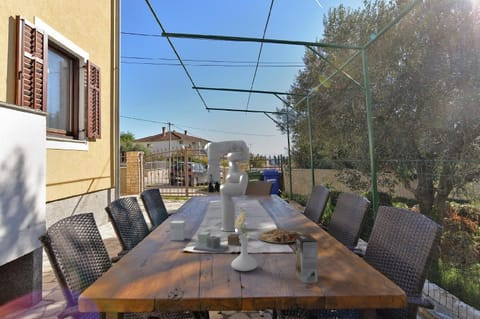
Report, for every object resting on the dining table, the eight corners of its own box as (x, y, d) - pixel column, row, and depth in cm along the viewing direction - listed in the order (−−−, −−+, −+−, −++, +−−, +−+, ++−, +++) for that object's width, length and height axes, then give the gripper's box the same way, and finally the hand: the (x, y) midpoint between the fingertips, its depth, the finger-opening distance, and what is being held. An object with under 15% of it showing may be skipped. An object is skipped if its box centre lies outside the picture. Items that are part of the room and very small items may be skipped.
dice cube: (206, 247, 148) (206, 237, 148) (214, 244, 152) (213, 235, 152) (213, 248, 145) (213, 239, 145) (220, 246, 149) (220, 237, 149)
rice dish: (250, 243, 163) (250, 234, 163) (268, 230, 187) (268, 222, 187) (297, 250, 150) (297, 240, 150) (310, 235, 174) (310, 226, 174)
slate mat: (200, 244, 155) (200, 243, 155) (227, 247, 151) (227, 245, 151) (193, 249, 147) (193, 247, 147) (222, 252, 142) (222, 250, 142)
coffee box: (295, 273, 115) (294, 234, 115) (310, 273, 115) (310, 233, 115) (301, 283, 106) (301, 240, 106) (318, 282, 106) (318, 239, 106)
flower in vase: (232, 263, 127) (231, 208, 127) (257, 263, 126) (256, 208, 126) (230, 275, 114) (229, 213, 114) (258, 275, 113) (257, 213, 113)
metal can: (236, 237, 171) (236, 227, 171) (244, 237, 169) (244, 227, 169) (234, 239, 166) (234, 229, 166) (242, 240, 165) (242, 229, 165)
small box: (186, 238, 170) (185, 220, 170) (183, 240, 164) (183, 222, 164) (173, 237, 171) (173, 220, 171) (170, 240, 165) (169, 222, 165)
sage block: (202, 239, 166) (202, 231, 166) (210, 240, 165) (210, 232, 165) (198, 242, 160) (198, 234, 160) (206, 243, 159) (206, 234, 159)
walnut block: (231, 242, 161) (231, 233, 161) (239, 242, 159) (239, 234, 159) (227, 245, 155) (227, 236, 155) (236, 245, 154) (236, 236, 154)
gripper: (213, 162, 177) (213, 190, 177) (202, 163, 160) (202, 193, 160) (224, 162, 174) (225, 190, 174) (214, 163, 158) (214, 193, 158)
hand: (214, 191), depth 167 cm, fingers open, 9 cm apart
